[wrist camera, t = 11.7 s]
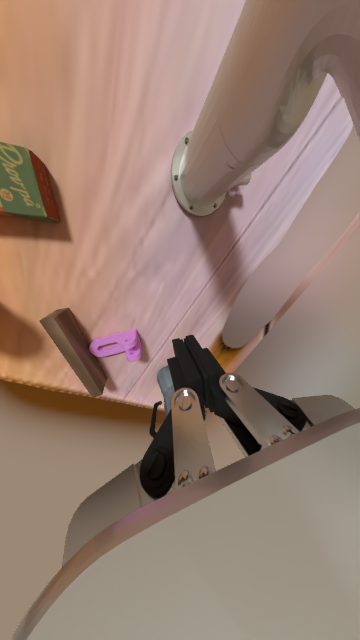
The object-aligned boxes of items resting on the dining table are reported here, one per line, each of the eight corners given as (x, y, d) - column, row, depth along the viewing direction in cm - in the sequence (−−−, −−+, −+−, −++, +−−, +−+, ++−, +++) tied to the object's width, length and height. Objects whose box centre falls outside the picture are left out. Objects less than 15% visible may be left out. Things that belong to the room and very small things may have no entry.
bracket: (136, 328, 38) (135, 342, 32) (141, 344, 40) (141, 359, 34) (87, 340, 36) (76, 357, 30) (96, 356, 38) (87, 374, 32)
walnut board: (68, 307, 31) (53, 317, 26) (107, 377, 42) (102, 394, 37) (56, 310, 31) (39, 320, 26) (98, 379, 42) (92, 397, 36)
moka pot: (190, 375, 52) (215, 435, 34) (152, 391, 50) (158, 463, 32) (184, 357, 47) (210, 416, 30) (142, 374, 45) (143, 447, 28)
